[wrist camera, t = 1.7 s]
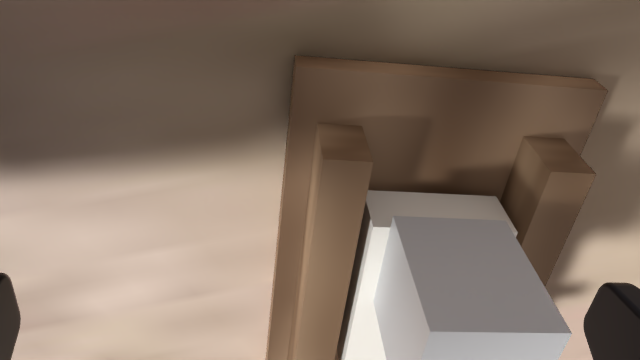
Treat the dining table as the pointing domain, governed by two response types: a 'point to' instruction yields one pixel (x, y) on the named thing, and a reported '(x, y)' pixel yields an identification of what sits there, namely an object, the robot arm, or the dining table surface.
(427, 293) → the pale grey cube box
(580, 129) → the gauge bench
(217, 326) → the dining table surface
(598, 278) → the dining table surface
